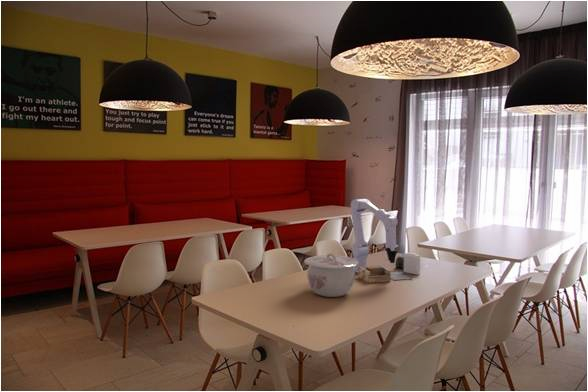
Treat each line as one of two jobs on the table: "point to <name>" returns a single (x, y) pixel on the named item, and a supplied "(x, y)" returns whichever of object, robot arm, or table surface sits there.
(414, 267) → the photo printer
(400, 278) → the slate mat
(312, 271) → the chamber pot
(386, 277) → the wooden cubby shelf
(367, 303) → the table surface
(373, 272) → the brown and grey block
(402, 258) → the rock
